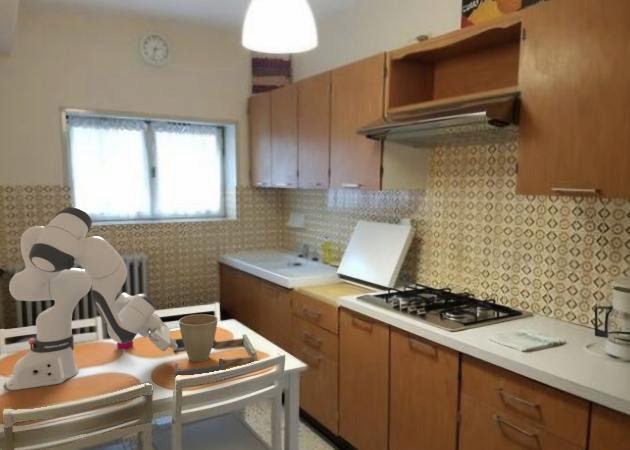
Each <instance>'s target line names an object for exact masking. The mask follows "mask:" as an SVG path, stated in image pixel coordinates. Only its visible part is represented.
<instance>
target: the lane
mask: <svg viewBox="0 0 630 450" xmlns="http://www.w3.org/2000/svg"><path fill="white" fill-rule="evenodd" d="M235 346H236V347H237V346H243V347H244V348H245V351H246V353H247V354H248V356H238V357H236V356H235V357H229V358H222V361H223V364H224V368H227V367H231V366H232V367H233V366H243V365H248V364H247V363H251V362H254V361H257V351H256V349H255V347H254V346H253V344H252V343H251V341H250V339H249V337H248V335H247V334H242V338H240V337H239V338H231V339H222V340H216V347H215V348H225V347H235ZM242 364H243V365H242ZM251 364H252V363H251Z"/></svg>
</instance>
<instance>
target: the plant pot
mask: <svg viewBox="0 0 630 450" xmlns="http://www.w3.org/2000/svg"><path fill="white" fill-rule="evenodd" d="M178 323H179V330H180V335H181V338H182V340H183V343H184V347H185V350H186V351H185V352H186V355H187V357H188V359H189V361H190V362H197V363H199V362H204V361H207V360H208V359H209V356H210V354H211V351H212V345H213V342H214V338H215V339H216V332H217V326H218V317H217V316H215V315H212V314H191V315H187V316H184V317H181V318H180V319H179V320H178Z"/></svg>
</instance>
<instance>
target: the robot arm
mask: <svg viewBox="0 0 630 450" xmlns="http://www.w3.org/2000/svg"><path fill="white" fill-rule="evenodd" d="M92 223H93V220H92V218H91V217H90V215H89V214H88V213H87V212H86V211H85V210H83V209H81V208H79V207H76V206H65V207H64V208H62V209H61V210H60V211H59V212H57V213H56V214H55V215H54V216H53V218H52V219H51V220H50V222H49V223H48V224H47V225H46V226H43V225H35V226H31V227H29V228H27V229H26V230H24V232H23V233H22V234H21V236H20V252H21V256H22V260H23V262H24V265H25V268H24V269H23V270H20V271H19V272H16V273H15V274H14V275H13V276H12V278H11V279H10V281H9V285H8V288H9V293H10V294H11V296H12V297H13V298H14V299H15V300H16V301H21V302H22V301H23V302H24V301H25V302H39V301H40V302H41V301H54V305H52V306H50V307H49V308H47V309H45V310H43V311H41V312H40V313H39V314H38V316H37V317H36V319H35V326H36V327H35V328H36V331H35V332H36V338H30V339H29V340H28V345H29V346H30V347H29V348H30V350H29V351H28V352H27V353H26V354H25V355H23V356H22V357H21V358H19V359H18V360H17V361H16V362H15V364H14V367H13V370H12V373H11V374H10V375H9V376H8V377H6V380H5V388H6V389H7V390H10V391H16V390H17V391H18V390H24V389H30V388H31V389H33V388H38V387H45V386H52V385H58V384H62V383H64V382H65V381H66V380H67V379H70V378H73V377H74V376H76V375H77V374H78V373H79V368H78V366H77V362H76V358H75V353H74V349H75V339H74V335H73V333H72V328H73V327H72V326H73V325H72V321H73V320H72V319H73V312H74V310H75V307H76V306H77V304H78V303H79V302H80V301H81V299H82V298H83V297H85V296H86V295H88V293H89V292H90V291H91V294H90V297H91V299H92V302H93V304H94V306H95V308H96V310H97V312H98V315H99V316H100V317H101V320H102V322H103V324H104V326H105V329H106V332H107V335H108V336H109V337H110V339H112V340H113V342H116V343H120V344H124V343H128V342H131V341H134V339H135V337H136V336H137V335H140V336H142V338H145V339H146V338H147V337H148V338H149V341H151V343H152V344H153V345H155V346H156V347H157V349H159V350H161V351H162V352H166V351H167V350H168V349H169V348H170V349H172V350H173V351H174V350H176V349H177V348H178V345H177V344H176V343H175V342H174V341H173V339H174V338H172V337H171V329H170V328H169V327H168V325H167V324H166V323H164V322H163V321H162V319H161V318H160V316H159V315H158V314H156V313H155V311H156V302H155V301H154V299H152V298H150V296H148V295H147V294H145V293H139V294H135V295H131V294H128V293H127V292H122V293H120V294H119V292H120V290H121V289H122V287H123V286H124V284H125V282H126V280H127V277H128V268H127V265H126V261H124V259H123V257H121V255H120V253H119V252H118V251H117V250H116V249H115V248H114V247H113V246H112V245H111V244H110V243H109V242H108V241H107V240H106V239H105V238H103V237H101V236H95V235H94V236H90V237H86V236H87V235H88V233H89V232H90V230H91V228H92ZM75 264H77V265H79V266H80V267H81V268H76V267H75Z"/></svg>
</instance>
